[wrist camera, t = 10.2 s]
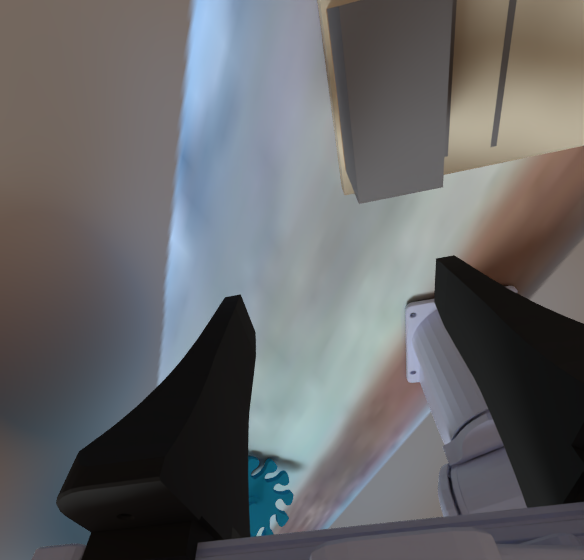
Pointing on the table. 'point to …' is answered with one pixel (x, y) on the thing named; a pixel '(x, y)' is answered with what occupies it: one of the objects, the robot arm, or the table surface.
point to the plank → (502, 81)
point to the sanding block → (392, 93)
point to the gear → (266, 496)
